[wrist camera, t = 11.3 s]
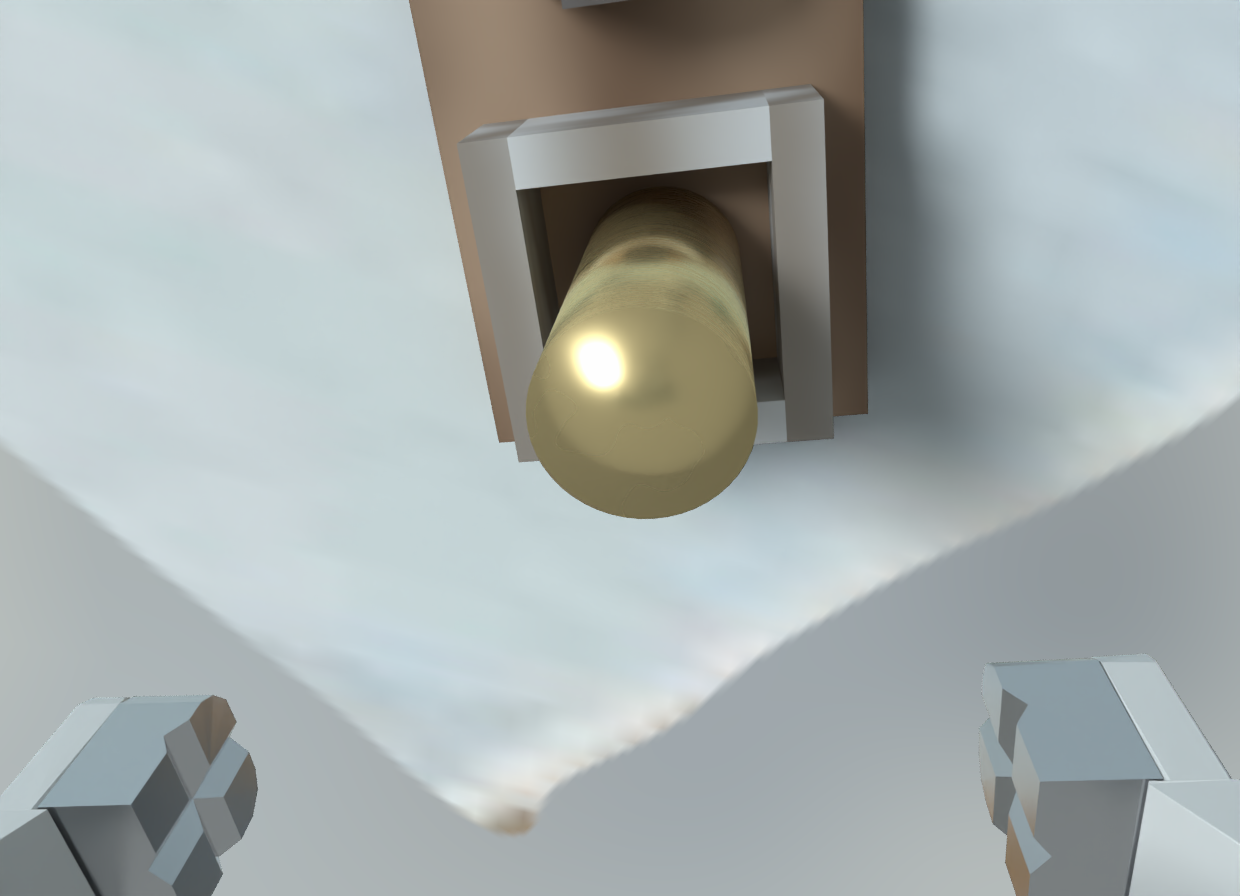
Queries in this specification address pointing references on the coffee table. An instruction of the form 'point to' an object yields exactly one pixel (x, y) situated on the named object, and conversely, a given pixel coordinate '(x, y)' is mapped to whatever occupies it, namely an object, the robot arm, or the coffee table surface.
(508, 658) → the coffee table surface
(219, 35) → the coffee table surface
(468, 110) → the board
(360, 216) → the coffee table surface
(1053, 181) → the coffee table surface
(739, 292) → the brass cylinder rod
